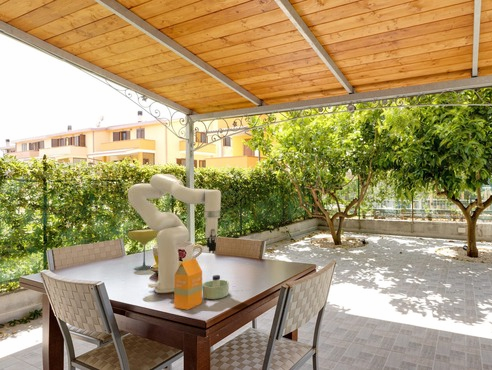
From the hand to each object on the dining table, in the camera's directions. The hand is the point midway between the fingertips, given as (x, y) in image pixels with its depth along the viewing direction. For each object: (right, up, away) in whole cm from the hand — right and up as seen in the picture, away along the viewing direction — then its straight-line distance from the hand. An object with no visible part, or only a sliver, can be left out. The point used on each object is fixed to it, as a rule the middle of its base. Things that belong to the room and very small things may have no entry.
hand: (211, 249), depth 157 cm
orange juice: (-5, -22, -15) cm, 27 cm away
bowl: (+3, -22, -2) cm, 23 cm away
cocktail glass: (-62, -23, +51) cm, 83 cm away
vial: (+3, -22, -2) cm, 22 cm away
